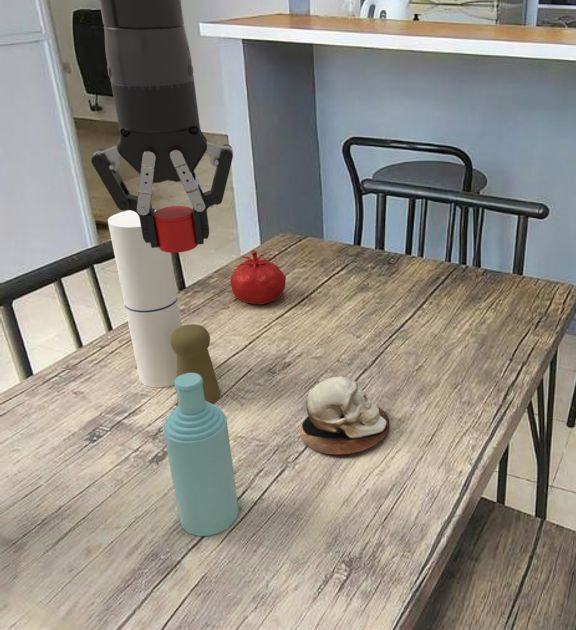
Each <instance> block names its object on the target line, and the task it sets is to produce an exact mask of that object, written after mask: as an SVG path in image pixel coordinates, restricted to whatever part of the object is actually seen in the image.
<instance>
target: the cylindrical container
mask: <svg viewBox="0 0 576 630" xmlns="http://www.w3.org/2000/svg"><path fill="white" fill-rule="evenodd" d="M157 210H158V209H155V211H157ZM107 224H108V229H109V235H110V239H111V244H112V250H113V255H114V260H115V264H116V270H117V273H118V280H119V285H120V289H121V294H122V299H123V304H124V310H125V315H126V319H127V325H128V329H129V334H130V340H131V344H132V349H133V353H134V358H135V363H136V368H137V374H138V378H139V382H140V383H141V384H142V385H143V386H145V387H148V388H154V389H155V388H156V389H157V388H160V389H162V388H168V387H172V386H174V383H175V379H176V378H177V353H176V352H174V350H173V348H172V346H171V335H172V333H173V332H174V331H175V330H176V329H177V328H179V327H181V326H183V323H182V317H181V310H180V304H179V297H178V292H177V285H176V279H175V273H174V267H173V266H174V265H173V260H172V259H173V258H172V253H168V252H164V251H161V250H160V249H159V247H158V248H151V243H146V242H145V241H144V239H143V235H142V229H141V224H140V218H139V215H138V214H137V213H136V212H134V211H131V210H125V211H120V212H117V213H115V214H113V215H111V216H110V217H109V218H107Z"/></svg>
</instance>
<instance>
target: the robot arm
mask: <svg viewBox="0 0 576 630" xmlns="http://www.w3.org/2000/svg"><path fill="white" fill-rule="evenodd" d="M98 1H99V7H100V13H101V19H102V23H103V25H104V26H103V31H104V48H105V58H106V63H107V65H106V71H107V74H108V77H109V80H110V86H111V90H112V95H113V101H114V107H115V113H116V118H117V124H118V130H119V138H118V140H117V143H116V145H115V146H111V147H109V148H106V149H103V148H99V149H96V151H95V152H94V153H93V155H92V158H91V160H90V162H91V164H92V167H94V170H95V171H96V173H97V175H98V177H99V178H100V180H101V181H102V183H103V185H104V187H105V188H106V190H107V191H108V193H109V196H110V197H111V198H112V200H113V202H114V203H115V204H114V205H116V208H118V209H119V210H120V211H122V212H124V211H129V210H131V211H134V212H136V213H137V214H138V215H139V218H140V224H141V229H142V235H143V239H144V241H145V242H146V243H151V248H158V247H159V244H158V239H157V233H156V227H155V221H154V216H153V215H154V212H155V210H156V209H155V208H153V205H152V201H153V192H154V185H155V184H159V183H162V182H166V181H170V182H174V183H178V182H179V183H181V184H182V187H183V189H184V191H185V193H186V194H187V197H188V198H189V201H190V203H191V205H192V209H193V211H192V214H193V221H194V228H195V236H196V243H197V246H198V245H204V244H205V240H207V239H209V236H210V224H209V216H208V209H209V208H210V207H213V206H218V205H220V204H222V203H223V199H224V195H225V191H226V188H227V183H228V179H229V175H230V170H231V168H232V167H231V166H232V162H233V159H234V152H233V146H231V145H230V144H228V143H224V144H222V145H221V144H217V143H213V142H210V141H208V140H207V138H206V136H205V135H204V134H203V131H202V129H201V125H200V124H201V123H200V117H199V109H198V102H197V101H198V99H197V92H196V85H195V78H194V77H195V76H194V66H193V61H192V53H191V48H190V44H189V41H188V40H189V39H188V37H187V33H186V26H185V25H184V24H185V20H184V13H183V5H182V0H98ZM205 154H208V155H209V157H210V161H209V162H210V164H211V165H212V166H213V167H215V170H214V175H213V179H212V184H211V188H210V190H207V191H203V189H202V187H201V183H200V182H199V178H198V175H197V172H196V171H195V170H196V168H197V167H198V165H199V163H200V162H201V160H202V159H203V157H204V155H205ZM120 157H121V158H123V159H124V161H125V162H126V163H128V165H129V166H131V168H133V170H134V171H136V172H137V174H138V175H139V184H138V192H137V193H138V195H135V194H131V192H130V190H129V189H128V187H127V185H126V184H125V182H124V180H123V178H122V177H121V174H120V173H119V171H118V170H119V168H120V165H121V163H120Z"/></svg>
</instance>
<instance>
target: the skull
mask: <svg viewBox="0 0 576 630" xmlns="http://www.w3.org/2000/svg"><path fill="white" fill-rule="evenodd" d="M306 413H307V417H306V418H305V419H304V420H303V422H302V423H301V426H300V430H299V431H300V432H299V434H300V437H301V440H302V441H303V443H304V444H305V445H306V446H307V447H309V448H310V449H312V450H314V451H316V452H320V453H322V454H327V455H348V454H354V453H360V452H362V451H365V450H367V449H369V448H372V447H373V446H374V445H376V444H378V443H379V442H380V441H381V440H382V439H384V438H385V436H386V435H387V434H388V431H389V429H390V426H391V425H390V424H391V423H390V422H391V421H390V418H389V416H388V414H387V412H386V411H385V410H384V409H383V408H381V407H380V406H378V405H376V404H374V403H373V402H372V401H371V400H370V399H369V398H368V396H367V394H366V391H364V390H363V389H360V388H358V382H357V381H355V380H352V379H350V378H348V377H345V376H339V375H338V376H337V375H336V376H332V377H328V378H326V379H324V380H322V381H320V382H319V383H317V384H316V385H314V386H313V388H311V389H310V390H309V391H308V393H307V398H306Z"/></svg>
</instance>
